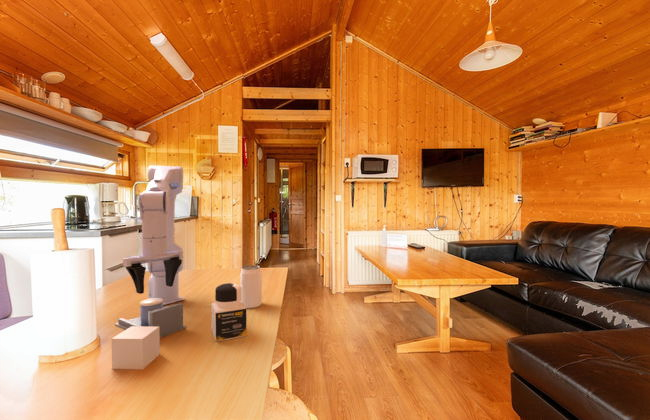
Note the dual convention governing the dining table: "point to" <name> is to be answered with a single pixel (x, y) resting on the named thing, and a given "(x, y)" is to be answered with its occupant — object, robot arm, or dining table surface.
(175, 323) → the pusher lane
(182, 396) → the dining table surface
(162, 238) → the robot arm
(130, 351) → the pale pink cube
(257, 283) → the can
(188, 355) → the dining table surface
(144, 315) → the jar
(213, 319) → the medicine bottle
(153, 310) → the plate
